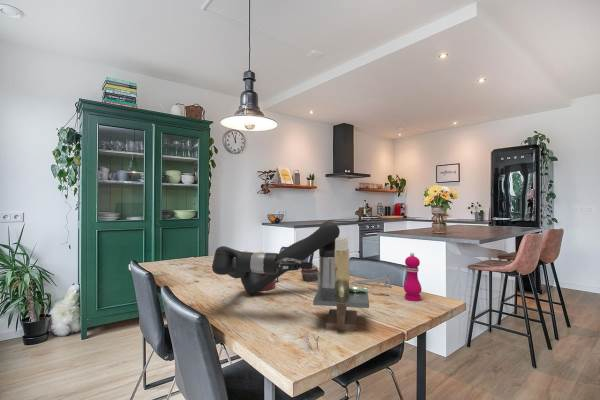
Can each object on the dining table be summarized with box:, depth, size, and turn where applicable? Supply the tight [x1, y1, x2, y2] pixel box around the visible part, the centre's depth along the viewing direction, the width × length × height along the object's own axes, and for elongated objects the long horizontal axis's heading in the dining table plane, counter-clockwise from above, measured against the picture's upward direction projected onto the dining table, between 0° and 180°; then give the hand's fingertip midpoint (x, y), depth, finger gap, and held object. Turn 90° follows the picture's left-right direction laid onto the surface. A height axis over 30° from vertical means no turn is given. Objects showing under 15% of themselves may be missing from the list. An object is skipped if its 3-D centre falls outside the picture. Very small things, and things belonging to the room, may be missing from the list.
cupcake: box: [300, 261, 319, 283], centre depth 170 cm, size 10×10×10 cm
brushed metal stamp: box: [312, 237, 370, 309], centre depth 109 cm, size 18×16×21 cm
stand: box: [325, 302, 358, 332], centre depth 109 cm, size 10×20×10 cm, turn 169°
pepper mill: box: [403, 252, 423, 302], centre depth 135 cm, size 7×7×20 cm
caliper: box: [351, 275, 392, 288], centre depth 159 cm, size 20×1×6 cm, turn 59°
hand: (312, 265), depth 111 cm, fingers closed
